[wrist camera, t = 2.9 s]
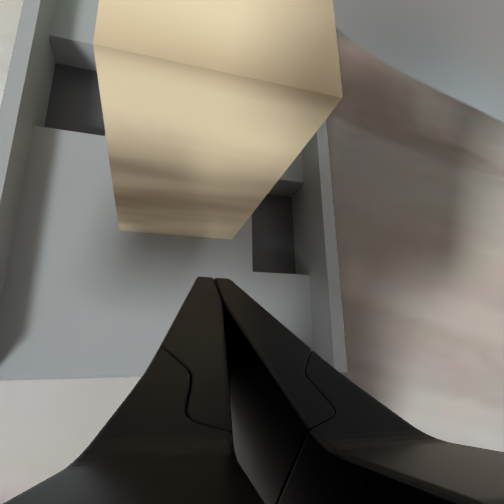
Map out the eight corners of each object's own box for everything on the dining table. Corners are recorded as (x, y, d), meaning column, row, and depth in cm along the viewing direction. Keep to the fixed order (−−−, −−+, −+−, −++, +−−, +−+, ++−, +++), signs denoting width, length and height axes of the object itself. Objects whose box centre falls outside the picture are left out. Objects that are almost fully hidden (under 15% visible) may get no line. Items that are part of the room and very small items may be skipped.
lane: (308, 370, 18) (381, 374, 13) (-12, 378, 14) (-104, 390, 9) (289, 43, 24) (334, -50, 19) (59, -15, 20) (31, -155, 15)
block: (231, 239, 17) (343, 97, 8) (119, 230, 16) (93, 43, 6) (231, 113, 19) (320, -119, 10) (131, 94, 18) (126, -197, 8)
